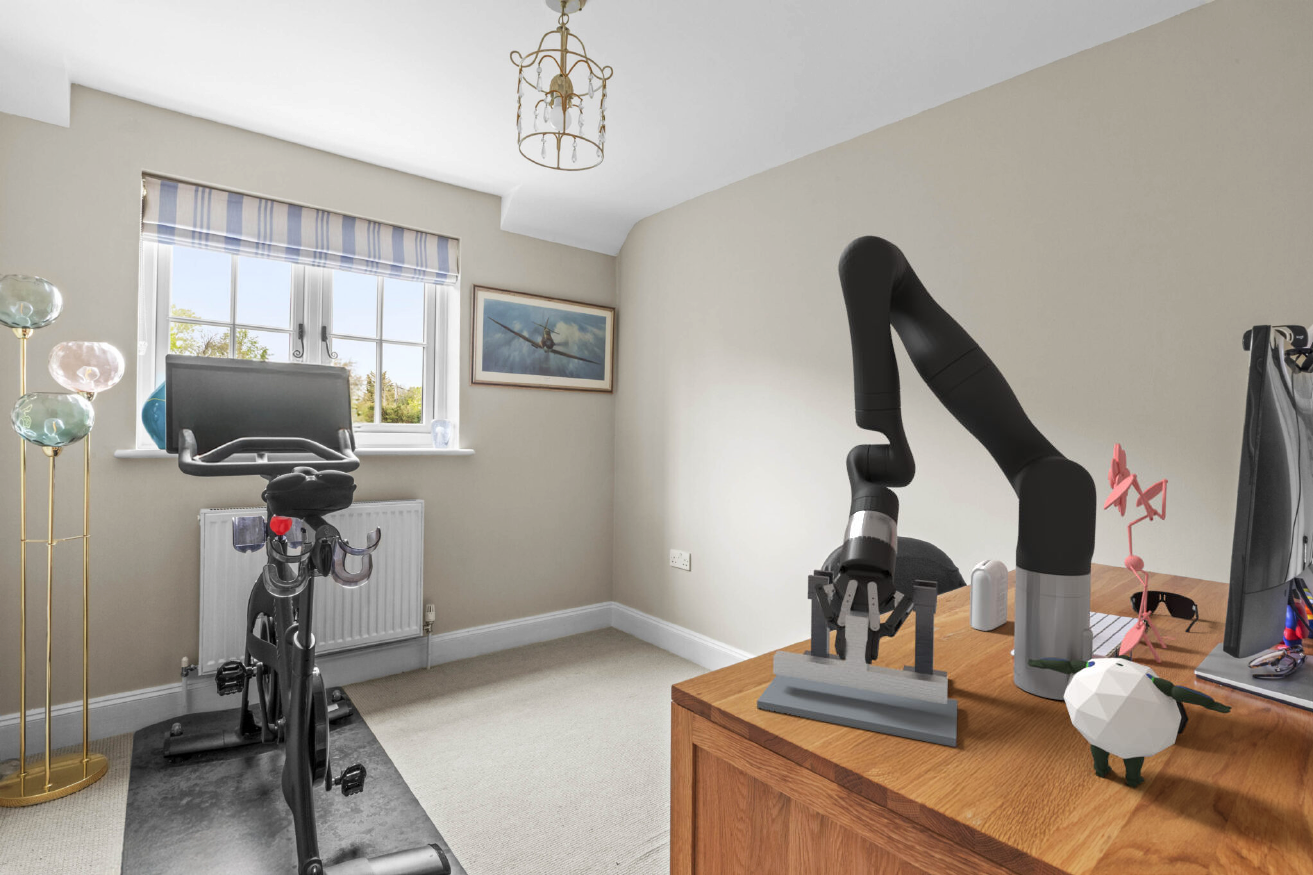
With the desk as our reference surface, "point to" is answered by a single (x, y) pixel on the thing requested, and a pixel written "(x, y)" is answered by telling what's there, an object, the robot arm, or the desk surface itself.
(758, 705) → the mat
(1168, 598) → the sunglasses
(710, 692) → the desk surface
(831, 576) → the hook stand
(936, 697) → the rail
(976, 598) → the photo printer
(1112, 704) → the figurine
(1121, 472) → the figurine
